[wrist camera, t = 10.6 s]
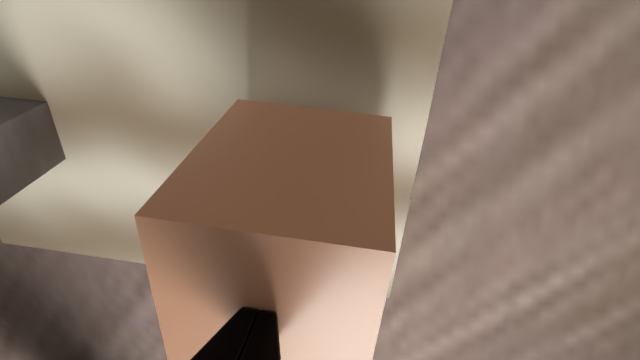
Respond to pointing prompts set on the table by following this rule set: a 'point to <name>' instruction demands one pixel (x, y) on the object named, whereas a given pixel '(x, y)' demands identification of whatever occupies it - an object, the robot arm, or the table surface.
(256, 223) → the peach rectangular block
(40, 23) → the post board
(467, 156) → the table surface
